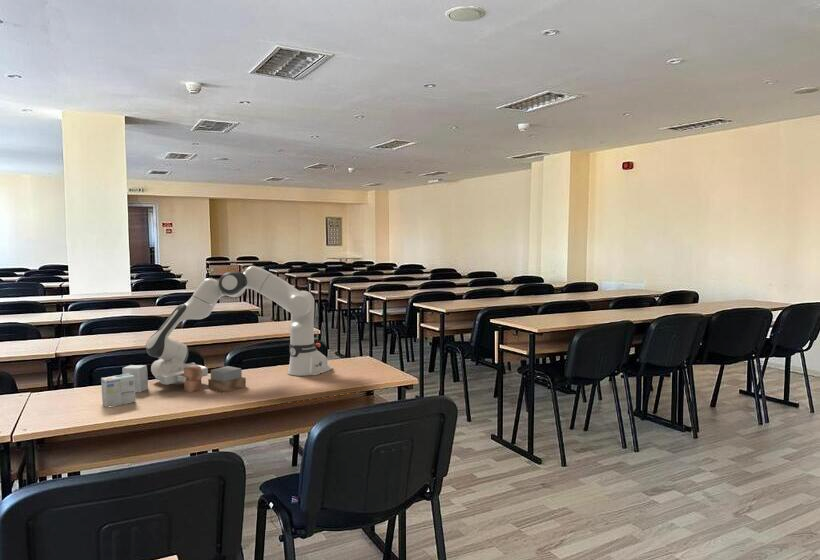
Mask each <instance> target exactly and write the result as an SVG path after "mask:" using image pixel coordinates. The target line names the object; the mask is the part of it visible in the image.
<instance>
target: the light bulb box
mask: <svg viewBox="0 0 820 560" xmlns="http://www.w3.org/2000/svg"><path fill="white" fill-rule="evenodd" d="M100 383H101V385H100V386H101V398H102V399H101V401H102V405H103V404H104V405H105V406H106V408H107V407H108V408H110V407H109V406H113V407H118V406H117V405H119V406H122V404H124V405H127V404H128V403H129V404H133V403H132V402H134V403H136V402H137V400H136V392H135V378H134V375H131V374H129V373H128V374H119V375H118V374H117V375H112V376H107V377H106V376H105V377H101V378H100ZM104 405H103V406H104ZM105 406H104V407H105Z"/></svg>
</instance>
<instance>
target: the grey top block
mask: <svg viewBox="0 0 820 560" xmlns="http://www.w3.org/2000/svg"><path fill="white" fill-rule="evenodd" d="M242 370H243V369H242V368H241V367H235V366H229V365H226V366H223V367H222V366H221V367H219V368H217V367H216V368H214V369H211V370H210V379H212V380H217V381H222V382H227V381H231V380H234V379H238V378H242V377H243V374H242Z"/></svg>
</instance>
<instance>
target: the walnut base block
mask: <svg viewBox="0 0 820 560" xmlns="http://www.w3.org/2000/svg"><path fill="white" fill-rule="evenodd" d="M246 380H247V379H246V377H244V376H242V378H238V379H234V380H231V381H227V382H222V381H217V380H212V379H211V378H208V380H207V383H208V389H209V388H210V389H209V390H212V389H214V390H213V391H216V390H217V391H216V392H219V391H221V392H220V393H223V392H225V393H228V392H227V391H229V392H232V391H236V390H239V388H240V389H243V388H242V387H244V388H246V387H247V385H246ZM235 389H236V390H235ZM231 390H232V391H231Z"/></svg>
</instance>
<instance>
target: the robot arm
mask: <svg viewBox="0 0 820 560" xmlns="http://www.w3.org/2000/svg"><path fill="white" fill-rule="evenodd" d="M247 289H249V290H253V291H254V292H256V293H258V294H260V295H262V296H264V297H266V298H267V299H269V300H271V301H273V302H274V303H276V304H277V305H278V306H279V307H280V308H282V309H284V310H285V311H287V313H288V312H289V313H290V315H291V316H290V317H291V318H290V326H289V329H290V330H289V332H290V333H289V334H290V337H289V338H290V341H289V342H290V343H289V354H290V355H289V356H290V357H289V365H288V370H287V374H288V375H291V376H303V377H305V376H317V375H320V373H321V374H323V373H326V372H329V371H331V370H333V369H334V368H333V366H332V365H329V364H328V363H329V362H328V358H327V356H326V355H324V354H323V353H322V352H321V351H319V350H318V349H317V348H320V347H321V343H320V342H316V343H315V339H314V338H315V336H314V335H315V332H314V331H315V330H314V327H315V326H314V323H315V298H314V296H313V294H312V293H311V292H309V291H307V290H299V289H297V288H296V287H295V286H293V285H291V284H290V283H289V282H287V281H286V280H285V279H283V278H281V277H279V276H277V275H275V274H274V273H272V272H270V271H267V270H266V269H264V268H261V267H260V266H256V265H250V266H248V267H247V268H246V269H245V270H244V271H243V272H242V271H228V272H225V273H224V274H223V273H222V275H221V276H220V278H219V279H218V280H217V279H214V278H211V277H210V278H209V277H208V278H205V279H203V280H202V282H200V284H199V285H198V286H197V287H196V289H195V291H194V292H193V294H192V295H191V297H190V298H189V299H188V300H187V301H186V302H184V303H183V304H182V303H181V304H179V305H177V306H176V307H175V309H174V310H173V311H172V312H171V313H170V314H169V316H168V317H167V318H166V319H165V321H164V322H163V323H162V324H161V326H160V327H159V328H158V329H157V331H155V332H154V333H153V334H152V335H151V336H150V337H149V338H148V340H147V341H146V343H145V350H146V353H147V355H148V356H149V357H153V358H157V360H154V361H153V362H152V363H151V366H150V371H151V373H152V375H153V377H155V380H157V381H159V383H160V384H162V385H170V384H171V385H172V384H175V385H176V384H177V385H178V384H180V383H184V381H188V377H187V376H185V377H184V367H188V366H193V365H196V366H200V367H201V379H202V378H203V377H207V376H208V373H209V369H208V367H207V366H203V365H201V364H196V363H195V362H187V361H188V358H189V347H188V345H187V344H186V343H183V342H181V341H179V340H178V341H177V340H174V339H172V338H169V336H170V335H171V333H172V332H173V331H174V330H175V328H176V327H177V326H178V325H179V323H181V322H182V321H187V320H203V319H205V318H207V317H209V316H210V315H211V313H212V312H213V310H214V309H215V306H216V305H217V303H218V301H219V300H220V298H221V297H224V298H225V297H226V298H231V299H237V298H240V297H242V296H243V295H244V294H245V293H246V291H247Z"/></svg>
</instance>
